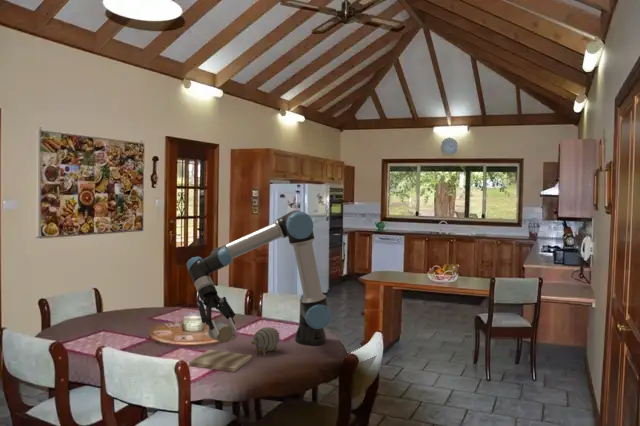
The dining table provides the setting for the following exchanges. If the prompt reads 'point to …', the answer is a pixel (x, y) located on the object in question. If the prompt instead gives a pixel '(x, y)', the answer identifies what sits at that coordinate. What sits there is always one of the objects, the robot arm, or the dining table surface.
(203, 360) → the birch board
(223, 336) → the ceramic mug
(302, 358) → the dining table surface
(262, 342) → the toy sheep
